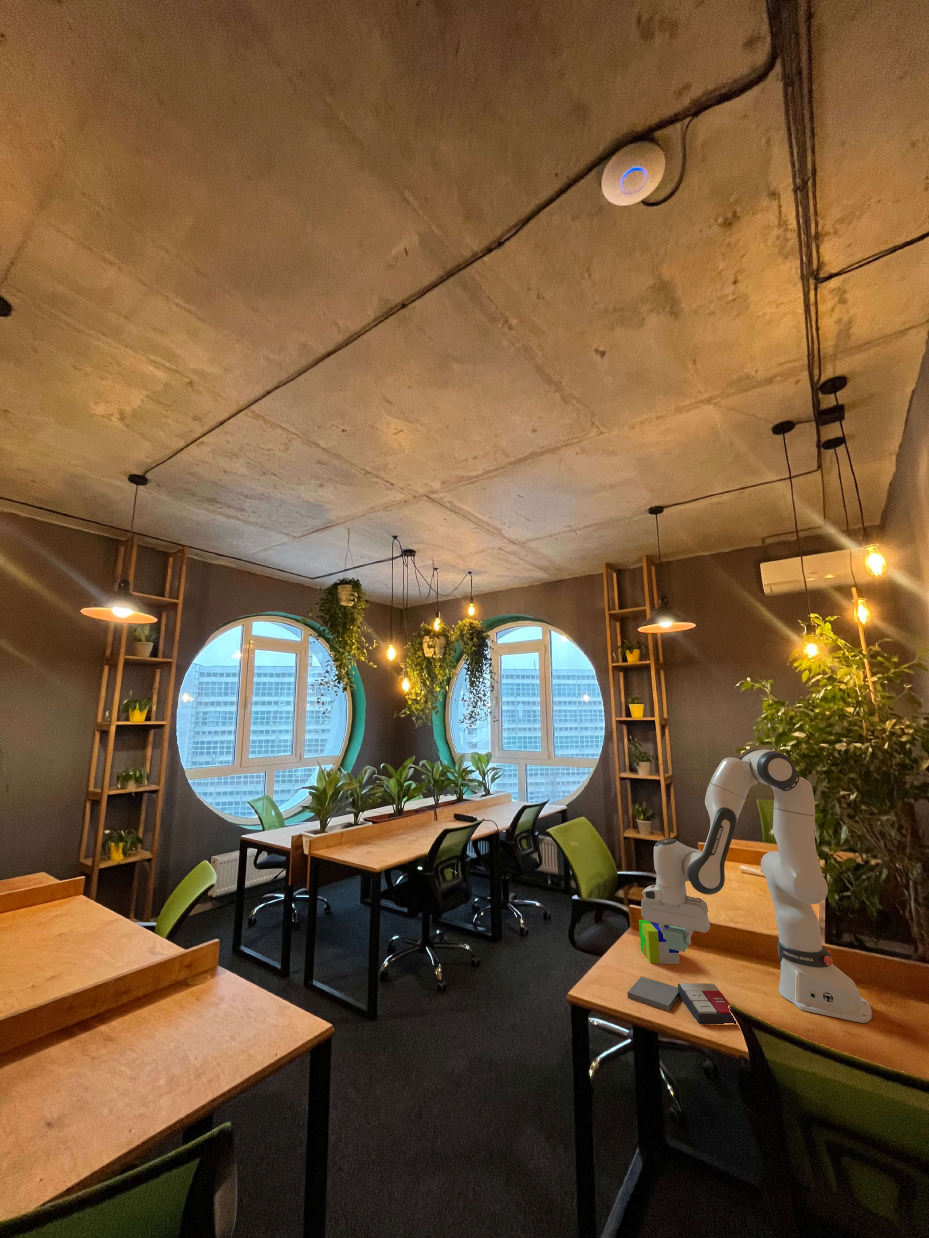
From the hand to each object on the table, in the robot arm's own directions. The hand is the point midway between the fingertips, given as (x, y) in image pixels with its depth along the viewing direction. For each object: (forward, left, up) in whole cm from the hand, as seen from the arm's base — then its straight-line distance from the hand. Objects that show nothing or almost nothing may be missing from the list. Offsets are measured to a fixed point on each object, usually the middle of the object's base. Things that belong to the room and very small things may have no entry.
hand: (677, 941), depth 160 cm
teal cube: (0, 0, -2) cm, 2 cm away
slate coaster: (+5, +10, -13) cm, 17 cm away
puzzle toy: (+12, -17, -13) cm, 24 cm away
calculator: (-10, +9, -13) cm, 19 cm away
